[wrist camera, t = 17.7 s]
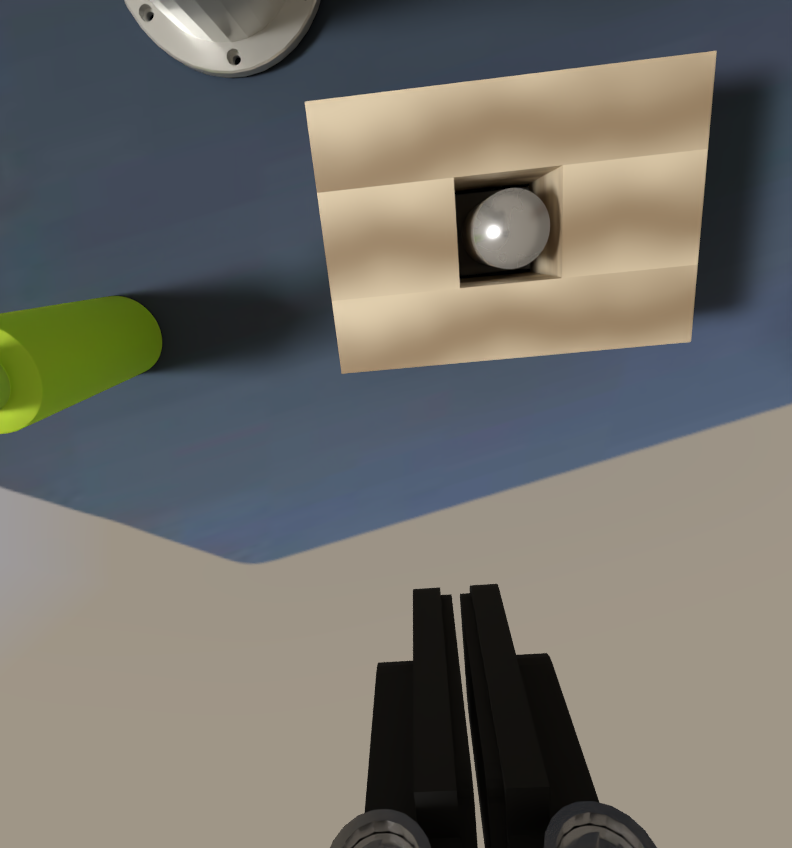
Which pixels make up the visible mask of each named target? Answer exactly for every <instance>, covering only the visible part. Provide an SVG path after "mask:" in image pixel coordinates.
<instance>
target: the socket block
mask: <svg viewBox="0 0 792 848" xmlns="http://www.w3.org/2000/svg"><path fill="white" fill-rule="evenodd" d="M715 63H716V51H711V52H703V53H695V54H686V55H678V56H670V57H662V58H654V59H646V60H638V61H630V62H622V63H614V64H606V65H598V66H590V67H582V68H573V69H565V70H557V71H549V72H541V73H533V74H525V75H517V76H509V77H501V78H493V79H485V80H477V81H469V82H460V83H452V84H444V85H436V86H428V87H420V88H412V89H404V90H396V91H388V92H380V93H372V94H364V95H355V96H347V97H339V98H331V99H323V100H315V101H307V102H305V108H306V115H307V123H308V130H309V137H310V145H311V152H312V159H313V166H314V174H315V181H316V188H317V196H318V203H319V210H320V218H321V225H322V232H323V240H324V247H325V254H326V261H327V269H328V276H329V283H330V291H331V298H332V305H333V313H334V320H335V327H336V335H337V342H338V349H339V357H340V364H341V371H342V374H343V373H354V372H365V371H376V370H387V369H398V368H409V367H420V366H431V365H442V364H453V363H464V362H475V361H486V360H497V359H508V358H519V357H530V356H541V355H552V354H563V353H574V352H585V351H596V350H607V349H618V348H629V347H640V346H651V345H662V344H673V343H684V342H691V334H692V323H693V312H694V300H695V289H696V278H697V266H698V255H699V244H700V232H701V221H702V210H703V198H704V187H705V176H706V164H707V153H708V142H709V131H710V119H711V108H712V97H713V85H714V74H715ZM522 184H529V191H530V192H532V193H534V194H535V195H536V196H538V197H539V198H540V199H541V200H542V202H543V203H544V205H545V206H546V209H547V211H548V214H549V218H550V233H549V237H548V240H547V243H546V245H545V247H544V249H543V250H542V252H541V253H540V254H539V255H538V256H537V257H536V258H535V259H534V260H533V261H532V262H530V272H522V273H512V274H502V275H492V276H482V277H472V278H462V279H459V262H458V244H457V227H456V209H455V192H459V191H468V190H477V189H486V188H495V187H504V186H513V185H522Z"/></svg>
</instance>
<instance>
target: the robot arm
mask: <svg viewBox="0 0 792 848" xmlns="http://www.w3.org/2000/svg"><path fill="white" fill-rule="evenodd" d="M124 1H125V3H126V5H127V7H128V9H129V10H130V12H131V13H132V15H133V16H134V18H135V19H136V21H137V22H138V24H139V25H140V27H141V28H142V29H143V30H144V31H145V32H146V34H147V35H148V36H149V37H150V38H151V39H152V40H153V41H154V42H155V43H156V44H157V45H158V46H159V47H160V48H162V49H163V50H164V51H165V52H166V53H168V54H169V55H170V56H171V57H173V58H174V59H176V60H178V61H179V62H181V63H183V64H184V65H186V66H187V67H189V68H191V69H194V70H197V71H199V72H202V73H204V74H207V75H212V76H219V77H225V78H231V77H245V76H249V75H252V74H256V73H259V72H262V71H265V70H266V69H268V68H270V67H272V66H273V65H275V64H277V63H279V62H280V61H282V60H283V59H284V58H285V57H286V56H287V55H288V54H289V53H290V52H291V51H293V50H294V49H295V48H296V47H297V45H298V44H299V42H300V41H301V40H302V38H303V37H304V36H305V34H306V33H307V31H308V30H309V28H310V26H311V24H312V22H313V19H314V17H315V15H316V13H317V11H318V8H319V4H320V1H321V0H306V1H305V0H124ZM152 15H154V17H153V19H152V20H151V21H150V17H151V16H152ZM237 58H241V62H240V63H239V64H238V65H235V60H236V59H237ZM460 602H461V603H460V604H461V618H462V632H463V645H464V646H463V647H464V660H465V675H466V688H467V702H468V713H469V721H470V729H471V738H472V746H473V754H474V762H475V771H476V778H477V787H478V795H479V803H480V812H481V820H482V828H483V836H484V844H485V848H657V847H656V846H655V844H654V843H653V841H652V840H651V838H650V837H649V836H648V834H647V833H646V831H645V830H644V829H643V828H642V827H641V826H640V825H638V824H637V823H636V822H635V821H634V820H633V819H632V818H631V817H630V816H628V815H627V814H625V813H623V812H621V811H619V810H618V809H616V808H614V807H612V806H609V805H606V804H602V803H599V800H598V797H597V794H596V791H595V788H594V785H593V782H592V780H591V776H590V773H589V770H588V768H587V765H586V762H585V759H584V756H583V753H582V750H581V747H580V744H579V741H578V738H577V735H576V732H575V729H574V726H573V723H572V720H571V717H570V714H569V711H568V708H567V705H566V702H565V699H564V696H563V694H562V691H561V688H560V685H559V682H558V679H557V676H556V673H555V670H554V667H553V664H552V661H551V659H550V657H549V655H548V654H547V653H543V654H524V655H516V653H515V650H514V646H513V641H512V638H511V634H510V630H509V626H508V622H507V618H506V614H505V610H504V606H503V602H502V599H501V595H500V591H499V587H498V585H497V584H488V585H473V586H470V593H467V594H460ZM367 780H368V781H367V792H366V804H365V813H364V814H361V815H358V816H357V817H356V818H354V819H353V820H352V821H350V822H349V823H348V824H346V825H345V826H344V827H343V829H342V830H341V831H340V833H339V834H338V835H337V837H336V838H335V839H334V840H333V842H332V845H331V847H330V848H478V847H477V833H476V818H475V804H474V793H473V781H472V771H471V763H470V754H469V745H468V736H467V727H466V718H465V710H464V701H463V692H462V684H461V675H460V666H459V657H458V648H457V640H456V631H455V622H454V613H453V604H452V596H451V595H440V588H427V589H414V590H413V661H400V662H384V663H378V665H377V672H376V684H375V695H374V708H373V720H372V731H371V744H370V755H369V769H368V779H367Z"/></svg>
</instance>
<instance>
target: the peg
mask: <svg viewBox="0 0 792 848" xmlns="http://www.w3.org/2000/svg"><path fill="white" fill-rule="evenodd" d="M549 233H550V218H549V214H548V211H547V209H546V206H545V205H544V203H543V202H542V200H541V199H540V198H539V197H538V196H536V195H535V194H534V193H532V192H530V191H528V190H526V189H522V188H508V189H504V190H501V191H499V192H497V193H495V194H493V195H492V196H490V197H489V198H487V199H486V200H484V201H483V202H481V203H480V204H478V205H477V206H475V207H474V208H473V209H472V210H471V211H470V212H469V213H468V215H467V216H466V218H465V220H464V223H463V226H462V232H461V237H462V243H463V246H464V248H465V250H466V252H467V253H468V255H469V256H470V257H471V258H472V259H474V260H475V261H477V262H479V263H481V264H485V265H490V266H494V267H498V268H503V269H515V268H519V267H523V266H525V265H527V264H529V263H530V262H532V261H533V260H534V259H535V258H536V257H537V256H538V255H539V254H540V253H541V252H542V250H543V249H544V247H545V245H546V243H547V240H548V237H549Z"/></svg>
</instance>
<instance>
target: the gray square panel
mask: <svg viewBox="0 0 792 848" xmlns="http://www.w3.org/2000/svg"><path fill="white" fill-rule="evenodd" d="M522 189H526V190H528V191H529V187H523V188H522ZM499 191H501V190H496V191H487V192H478V193H469V194H460V195H455V209H456V227H457V244H458V262H459V276H460V275H470V274H480V273H489V272H499V271H509V270H519V269H529V268H530V263H529V264H527V265H525V266H523V267H519V268H515V269H503V268H498V267H494V266H490V265H485V264H481V263H479V262H477V261H475V260H474V259H472V258H471V257H470V256H469V255H468V253H467V252H466V250H465V248H464V246H463V243H462V237H461V232H462V226H463V223H464V220H465V218H466V216H467V215H468V213H469V212H470V211H471V210H472V209H473V208H474V207H475V206H477V205H478V204H480V203H481V202H483V201H484V200H486V199H487V198H489V197H490V196H492V195H493V194H495V193H497V192H499Z"/></svg>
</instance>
